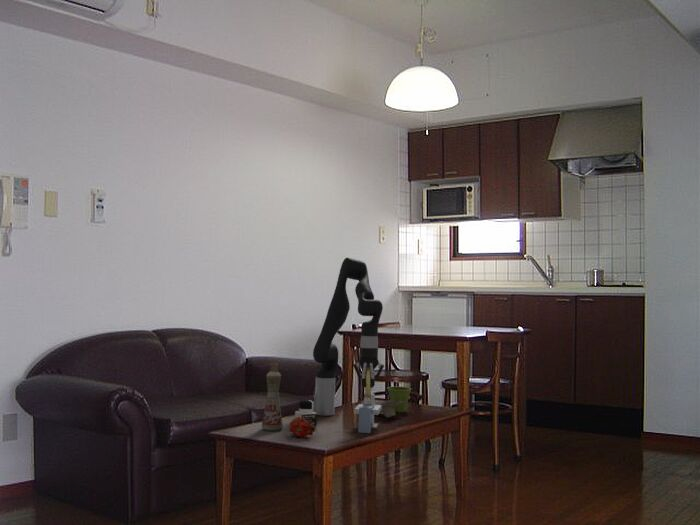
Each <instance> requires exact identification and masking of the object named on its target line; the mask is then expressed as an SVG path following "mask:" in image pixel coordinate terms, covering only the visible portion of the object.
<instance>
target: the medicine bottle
mask: <svg viewBox="0 0 700 525" xmlns="http://www.w3.org/2000/svg"><path fill="white" fill-rule="evenodd" d="M297 417H299V418H302V417H303V418H305V419H306V420H308V421H310V422H311V423H312V425H313V426H314V428H315V431H316V430H317V429H318V426H317V425H318V415H317V413H315V412H314V400H311V399H301V400H299V403H298V410H296V411H294V418H297Z"/></svg>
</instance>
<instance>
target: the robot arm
mask: <svg viewBox="0 0 700 525" xmlns="http://www.w3.org/2000/svg"><path fill="white" fill-rule="evenodd" d="M368 271H369V270H368V267H367V264H366V262H364V261H363V260H360V259H356V258H352V257H345V258H344V259H343V261H342V263H341V266H340V269H339V273H338V278H337V281H336V285H335V288H334V293H333V295H332V298H331V302H330V304H329V307H328V309H327V311H326V312H327V314H326V317H325V319H324V323H323V325H322V328H321V330H320V334H319V336H318V338H317V341H316V342H315V345H314V347H313V351H312V357H313V359H314V361H315V362H316V363H317V364H318V363H319V364H321V366H320V367H319V369H317V370H316V371H315V390H314V391H315V393H314V396H313V402H314V404H313V412H315V413H317V416H323V417H324V416H327V417H328V416H334V415H335V409H336V408H335V402H336V401H335V400H336V396H335V395H336V375H337V372H338V367H339V366H338V364H339V350H338V349H339V348H338V346H337V345H336V344H335V343H334V342H333V340H334V338H335V336H336V334H337V333H338V332H339V331H340V330H341V328H342V327H343V325H344V324H345V323H346V321H347V318H348V315H349V311H350V309H351V307H350V306H351V304H350V300H349V297H348V293H347V280H348V279H350V280H354V281H358V283H356V285H355V290H354V291H355V296H356V298H357V303H358V304H357V312H358V314H359V315H360V316H362V317H372V318H371V319H370V320H369V321H367V320H366V321H363V322H362V323H361V328H360V329H361V330H360V333H361V334H360V336H361V337H360V343H359V344H360V345H359V346H360V348H359V360H358V362H355V363H353V364H352V367H353V368H354V370H355V372H356V375H357V377H358V378H361V386H362V387H363V389H365V374H366V370H367V367H370V371H371V378H372V379H371V389H373V388H374V387H375V384H376V383H375V382H376V381H375V380H376V379H377V378H379V377H380V375H381V374H382V371H383V370H384V368H385V364H382V363H381V362H380V361H379V337H378V336H379V334H378V333H379V323H380V319H381V316H382V313H383V309H384V308H383V307H384V306H383V303H382V301H380V300H379V299H375V294H374V292H373V291H372V288H371V285H370V280H369V272H368ZM377 366H378V367H377ZM360 367H361V369H362V373H361V371H360V369H359V368H360ZM376 368H378V370H377V373H375V371H376V370H375V369H376Z"/></svg>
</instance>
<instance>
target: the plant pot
mask: <svg viewBox="0 0 700 525" xmlns="http://www.w3.org/2000/svg"><path fill="white" fill-rule="evenodd" d="M386 389H387V390H388V395H389V400H394V401H395V402H399V401H404V402H402V403H400V404H398V405H396V406H394V411H395V413H400V414H401V413H406V412H407V410H408V409H407V407H408V402H409V397H410V394H411V391H412V388H410V387H407V386H389V387H386Z"/></svg>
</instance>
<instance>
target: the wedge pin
mask: <svg viewBox="0 0 700 525" xmlns="http://www.w3.org/2000/svg"><path fill="white" fill-rule="evenodd" d="M371 379H372V378H371V371H370V367H367V370H366V374H365V388H364V398H365V397H368V398H370V397H371V393H372V388H371Z"/></svg>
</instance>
